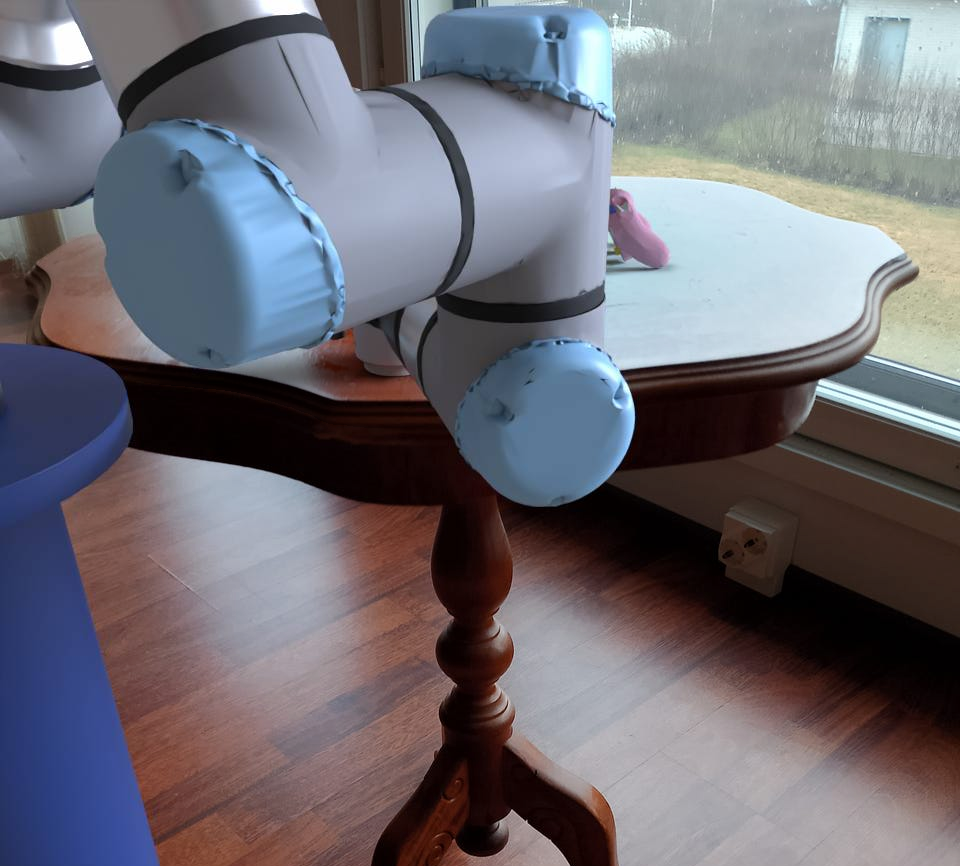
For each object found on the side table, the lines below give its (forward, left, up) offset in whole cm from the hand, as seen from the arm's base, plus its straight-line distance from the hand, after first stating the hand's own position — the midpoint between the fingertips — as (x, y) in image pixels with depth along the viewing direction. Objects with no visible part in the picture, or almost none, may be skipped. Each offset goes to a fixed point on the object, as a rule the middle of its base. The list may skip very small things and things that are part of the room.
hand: (380, 237), depth 75 cm
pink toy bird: (+31, 0, -8) cm, 32 cm away
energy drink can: (-2, -3, -8) cm, 9 cm away
